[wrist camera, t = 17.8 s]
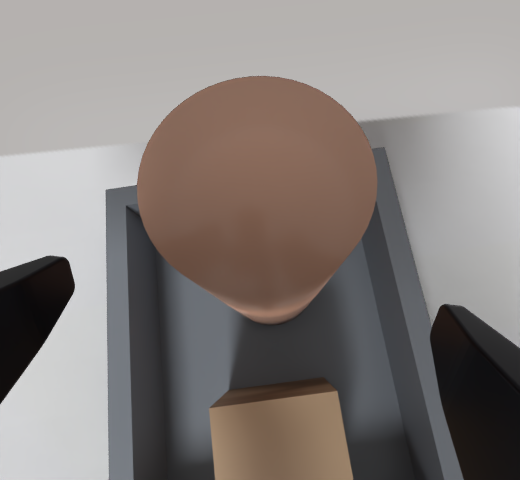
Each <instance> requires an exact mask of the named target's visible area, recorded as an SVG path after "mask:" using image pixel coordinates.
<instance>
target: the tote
mask: <svg viewBox="0 0 520 480" xmlns="http://www.w3.org/2000/svg"><path fill="white" fill-rule="evenodd" d="M372 152H373V155H374V160H375V164H376V170H377V197H376V202H375V207H374V211H373V214H372V217H371V219H370V222H369V225H368V227H367V229H366V231H365V233H364V234H363V236H362V238H361V240H360V241H359V243H358V244H357V245H356V247H355V248H354V249H353V251H352V252H351V253H350V255H349V256H348V257H347V258H346V260H345V261H344V262H343V263H342V265H341V266H340V267H339V268H338V269H337V271H336V272H335V273H334V274H333V276H332V277H331V278H330V279H329V281H328V282H327V283H326V284H325V286H324V287H323V288H322V289H321V291H320V292H319V293H318V294H317V296H316V297H315V298H314V299H313V300H312V302H311V303H310V304H309V305H308V307H307V308H306V309H305V310H304V311H303V312H302V313H301V314H300V315H299V316H298V317H296V318H295V319H293V320H291V321H289V322H287V323H284V324H280V325H262V324H258V323H255V322H253V321H251V320H249V319H247V318H246V317H244V316H243V315H241V314H240V313H238V312H237V311H235V310H234V309H232V308H231V307H230V306H228V305H227V304H225V303H224V302H222V301H221V300H219V299H218V298H216V297H215V296H213V295H212V294H210V293H209V292H207V291H206V290H204V289H203V288H202V287H200V286H199V285H197V284H196V283H194V282H193V281H191V280H190V279H188V278H187V277H185V276H184V275H182V274H181V273H180V272H179V271H177V270H176V269H175V268H174V267H173V266H171V265H170V264H169V263H168V262H167V261H166V260H165V259H164V257H163V256H162V255H161V254H160V253H159V252H158V250H157V249H156V247H155V246H154V244H153V243H152V241H151V240H150V238H149V236H148V234H147V232H146V230H145V228H144V225H143V222H142V219H141V215H140V212H139V206H138V199H137V185H135V186H128V187H121V188H115V189H108V190H106V263H107V350H108V438H109V480H215V472H214V460H213V449H212V437H211V425H210V413H209V408H210V407H211V406H212V405H213V404H214V403H215V402H216V401H217V400H218V399H220V398H221V397H222V396H223V395H224V394H225V393H226V392H227V391H228V390H232V389H239V388H247V387H254V386H261V385H269V384H276V383H283V382H291V381H298V380H306V379H313V378H320V377H324V378H325V379H326V380H327V381H328V382H329V383H330V384H331V385H332V386H333V387H334V388H335V389H336V390H337V392H338V398H339V403H340V409H341V414H342V420H343V425H344V431H345V436H346V442H347V447H348V453H349V458H350V464H351V470H352V475H353V480H464V479H463V476H462V472H461V469H460V466H459V462H458V459H457V456H456V452H455V449H454V446H453V442H452V439H451V436H450V432H449V429H448V425H447V422H446V419H445V415H444V412H443V408H442V404H441V399H440V395H439V389H438V383H437V378H436V372H435V366H434V361H433V355H432V349H431V344H430V332H431V329H432V327H431V323H430V319H429V315H428V311H427V308H426V304H425V300H424V296H423V292H422V289H421V285H420V281H419V277H418V273H417V270H416V266H415V262H414V258H413V254H412V250H411V247H410V243H409V239H408V235H407V231H406V228H405V224H404V220H403V216H402V212H401V209H400V205H399V201H398V197H397V193H396V189H395V186H394V182H393V178H392V174H391V170H390V167H389V163H388V159H387V155H386V151H385V148H384V147H383V148H376V149H372Z"/></svg>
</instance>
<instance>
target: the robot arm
mask: <svg viewBox="0 0 520 480" xmlns="http://www.w3.org/2000/svg"><path fill="white" fill-rule="evenodd" d="M74 289H75V283H74V279H73V275H72V271H71V268H70V264H69V261H68V260H67V259H66V258H64V257H58V256H46V257H43V258H40V259H37V260H34V261H31V262H28V263H25V264H22V265H19V266H16V267H13V268H10V269H7V270H4V271H1V272H0V404H1V403H2V401H3V400H4V398H5V397H6V396H7V394H8V393H9V392H10V390H11V389H12V387H13V386H14V385H15V383H16V382H17V380H18V379H19V378H20V376H21V375H22V374H23V372H24V371H25V369H26V368H27V367H28V365H29V364H30V363H31V361H32V360H33V358H34V357H35V356H36V354H37V353H38V351H39V350H40V348H41V347H42V346H43V344H44V342H45V341H46V339H47V338H48V336H49V334H50V332H51V331H52V329H53V327H54V326H55V324H56V322H57V320H58V319H59V317H60V315H61V314H62V312H63V310H64V308H65V307H66V305H67V303H68V302H69V300H70V298H71V296H72V295H73V292H74ZM430 344H431V349H432V355H433V361H434V366H435V372H436V378H437V383H438V389H439V395H440V399H441V404H442V408H443V412H444V415H445V419H446V422H447V425H448V429H449V432H450V436H451V439H452V442H453V446H454V449H455V452H456V456H457V459H458V462H459V466H460V469H461V472H462V476H463V479H464V480H520V348H519V347H517V346H516V345H515V344H513V343H512V342H511V341H509V340H508V339H507V338H505V337H504V336H502V335H501V334H500V333H498V332H497V331H496V330H494V329H493V328H492V327H490V326H489V325H488V324H486V323H485V322H483V321H482V320H481V319H479V318H478V317H477V316H475V315H474V314H473V313H471V312H470V311H468V310H467V309H466V308H464V307H463V306H458V305H450V304H444V305H442V306H441V307H440V308H439V311H438V313H437V316H436V318H435V321H434V324H433V326H432V329H431V332H430Z"/></svg>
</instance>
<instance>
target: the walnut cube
mask: <svg viewBox="0 0 520 480" xmlns="http://www.w3.org/2000/svg"><path fill="white" fill-rule="evenodd" d="M209 413H210V425H211V437H212V449H213V460H214V472H215V480H353V475H352V470H351V464H350V458H349V453H348V447H347V442H346V436H345V431H344V425H343V420H342V414H341V409H340V403H339V398H338V392H337V390H336V389H335V388H334V387H333V386H332V385H331V384H330V383H329V382H328V381H327V380H326V379H325V378H324V377H320V378H313V379H306V380H298V381H291V382H283V383H276V384H269V385H261V386H254V387H247V388H239V389H232V390H228V391H227V392H226V393H225V394H224V395H223V396H222V397H221V398H220V399H218V400H217V401H216V402H215V403H214V404H213V405H212V406H211V407H210V408H209Z"/></svg>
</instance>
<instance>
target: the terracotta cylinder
mask: <svg viewBox="0 0 520 480" xmlns="http://www.w3.org/2000/svg"><path fill="white" fill-rule="evenodd" d="M376 197H377V170H376V164H375V160H374V155H373V152H372V149H371V147H370V144H369V142H368V139H367V138H366V136H365V134H364V132H363V130H362V129H361V127H360V126H359V124H358V123H357V122H356V120H355V119H354V118H353V116H351V114H350V113H349V112H348V111H347V110H346V109H345V108H344V107H343V106H342V105H340V104H339V103H338V102H336V101H335V100H334V99H333V98H331V97H330V96H328V95H326V94H325V93H323V92H321V91H320V90H318V89H316V88H313V87H311V86H309V85H307V84H304V83H300V82H297V81H294V80H289V79H285V78H280V77H269V76H253V77H252V76H250V77H242V78H235V79H232V80H227V81H224V82H220V83H217V84H215V85H212V86H209V87H207V88H205V89H203V90H201V91H199V92H197V93H195V94H194V95H192V96H191V97H189V98H188V99H186V100H185V101H183V102H182V103H181V104H180V105H178V106H177V107H176V108H175V109H173V111H171V113H170V114H169V115H168V116H167V117H166V118H165V119H164V120H163V121H162V122H161V124H160V125H159V126H158V128H157V129H156V130H155V132H154V134H153V135H152V137H151V139H150V140H149V142H148V144H147V147H146V149H145V151H144V154H143V156H142V160H141V164H140V168H139V173H138V181H137V199H138V206H139V212H140V215H141V219H142V222H143V225H144V228H145V230H146V232H147V234H148V236H149V238H150V240H151V241H152V243H153V244H154V246H155V247H156V249H157V250H158V252H159V253H160V254H161V255H162V256H163V257H164V259H165V260H166V261H167V262H168V263H169V264H170V265H171V266H173V267H174V268H175V269H176V270H177V271H179V272H180V273H181V274H182V275H184V276H185V277H187V278H188V279H190V280H191V281H193V282H194V283H196V284H197V285H199V286H200V287H202V288H203V289H204V290H206V291H207V292H209V293H210V294H212V295H213V296H215V297H216V298H218V299H219V300H221V301H222V302H224V303H225V304H227V305H228V306H230V307H231V308H232V309H234V310H235V311H237V312H238V313H240V314H241V315H243V316H244V317H246V318H247V319H249V320H251V321H253V322H255V323H258V324H262V325H280V324H284V323H287V322H289V321H291V320H293V319H295V318H296V317H298V316H299V315H300V314H301V313H302V312H303V311H304V310H305V309H306V308H307V307H308V305H309V304H310V303H311V302H312V300H313V299H314V298H315V297H316V296H317V294H318V293H319V292H320V291H321V289H322V288H323V287H324V286H325V284H326V283H327V282H328V281H329V279H330V278H331V277H332V276H333V274H334V273H335V272H336V271H337V269H338V268H339V267H340V266H341V265H342V263H343V262H344V261H345V260H346V258H347V257H348V256H349V255H350V253H351V252H352V251H353V249H354V248H355V247H356V245H357V244H358V243H359V241H360V240H361V238H362V236H363V234H364V233H365V231H366V229H367V227H368V225H369V222H370V219H371V217H372V214H373V211H374V207H375V202H376Z"/></svg>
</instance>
